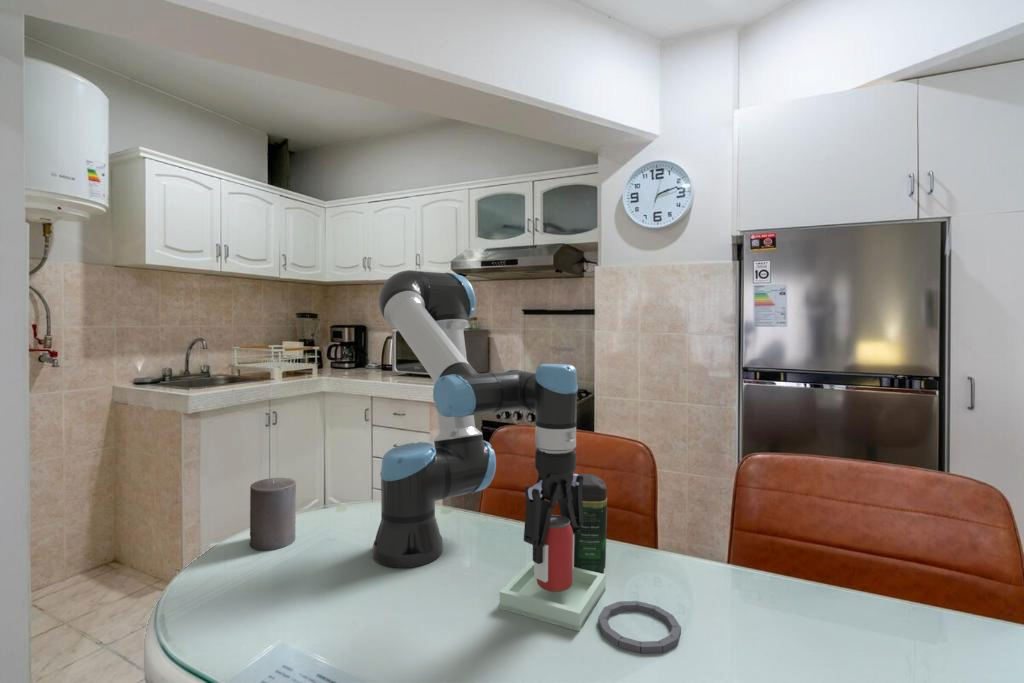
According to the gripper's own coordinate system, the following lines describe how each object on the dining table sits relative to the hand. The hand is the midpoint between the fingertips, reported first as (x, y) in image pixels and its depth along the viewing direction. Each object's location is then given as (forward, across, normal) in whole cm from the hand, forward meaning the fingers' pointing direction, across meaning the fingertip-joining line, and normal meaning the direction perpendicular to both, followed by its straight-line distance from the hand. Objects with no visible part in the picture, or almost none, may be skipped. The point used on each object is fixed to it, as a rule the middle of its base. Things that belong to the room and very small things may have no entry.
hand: (554, 572), depth 94 cm
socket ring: (+5, +4, -16) cm, 17 cm away
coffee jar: (+5, +15, +4) cm, 17 cm away
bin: (+5, 0, 0) cm, 5 cm away
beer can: (+2, 0, 0) cm, 2 cm away
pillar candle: (+5, -30, +60) cm, 68 cm away
